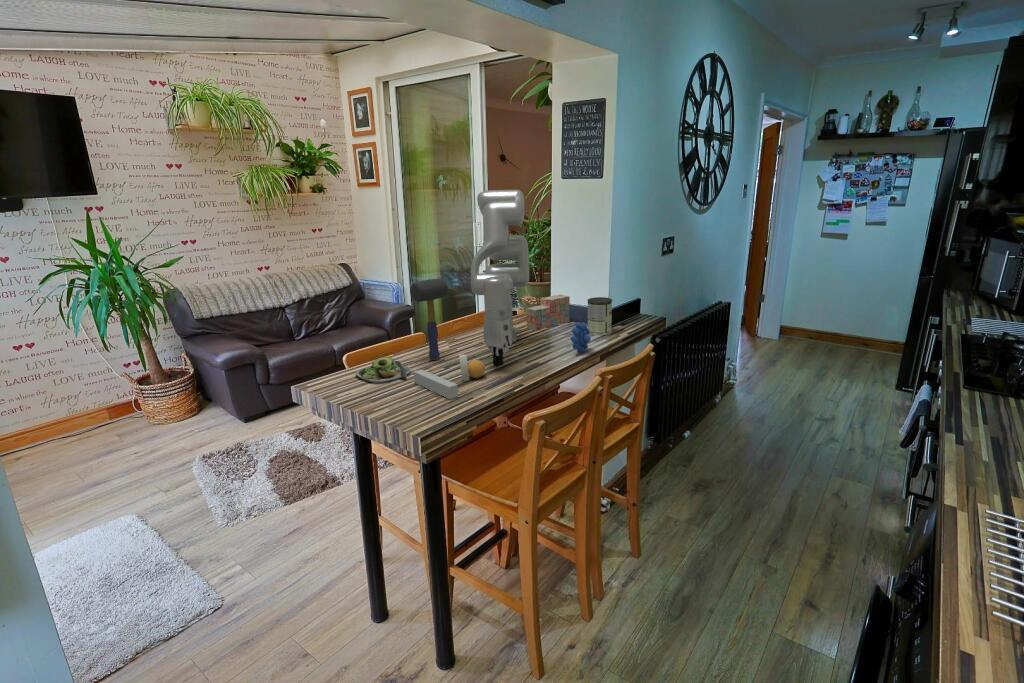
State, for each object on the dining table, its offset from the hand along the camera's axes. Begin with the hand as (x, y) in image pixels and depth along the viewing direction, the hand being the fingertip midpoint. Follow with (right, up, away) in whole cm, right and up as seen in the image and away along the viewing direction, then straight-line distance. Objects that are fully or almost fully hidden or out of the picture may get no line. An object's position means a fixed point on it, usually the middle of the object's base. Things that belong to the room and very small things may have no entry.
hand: (498, 365), depth 181 cm
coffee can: (+42, +12, +43) cm, 61 cm away
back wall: (-19, -7, -16) cm, 26 cm away
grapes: (+31, +4, +15) cm, 35 cm away
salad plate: (-40, -4, 0) cm, 40 cm away
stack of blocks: (+22, +16, +57) cm, 63 cm away
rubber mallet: (-24, +1, +14) cm, 28 cm away
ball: (-7, -1, -7) cm, 10 cm away
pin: (-10, -4, -8) cm, 14 cm away
